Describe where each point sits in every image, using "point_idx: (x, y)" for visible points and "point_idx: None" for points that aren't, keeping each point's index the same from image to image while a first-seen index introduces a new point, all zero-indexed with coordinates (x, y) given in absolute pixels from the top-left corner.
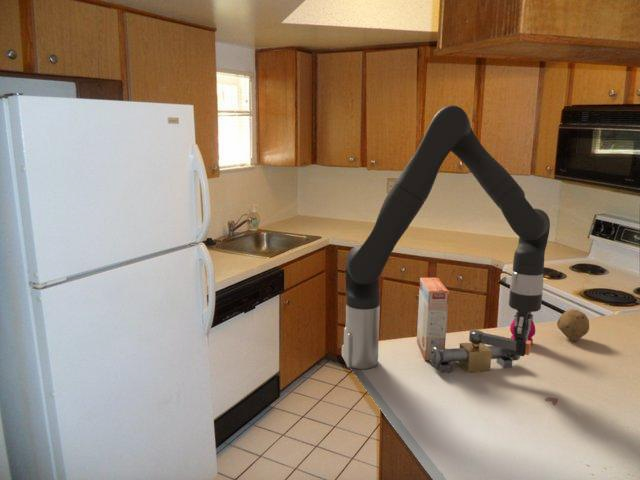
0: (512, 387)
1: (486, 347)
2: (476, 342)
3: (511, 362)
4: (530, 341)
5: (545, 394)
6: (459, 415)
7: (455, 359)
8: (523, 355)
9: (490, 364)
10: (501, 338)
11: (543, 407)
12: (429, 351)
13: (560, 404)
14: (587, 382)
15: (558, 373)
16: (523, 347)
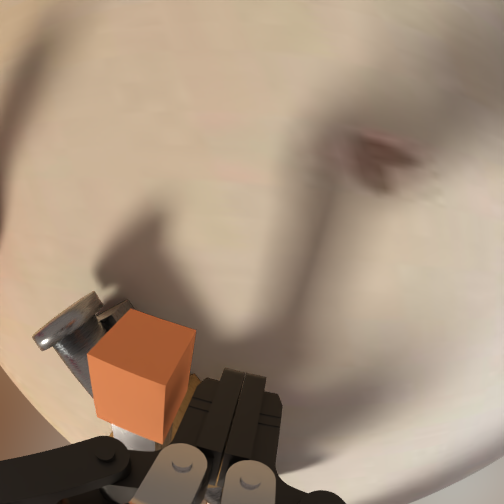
0: (306, 314)
1: None
2: None
3: (118, 313)
4: (99, 362)
5: (332, 183)
6: (479, 419)
7: None
8: (265, 381)
9: (187, 392)
10: None
11: (444, 209)
12: (202, 501)
13: (404, 133)
14: (147, 14)
15: (102, 119)
16: (261, 434)
